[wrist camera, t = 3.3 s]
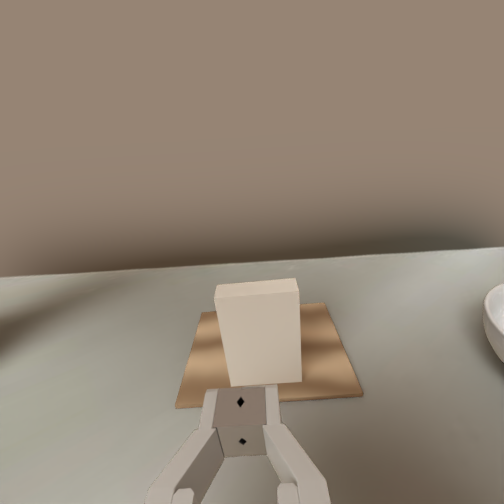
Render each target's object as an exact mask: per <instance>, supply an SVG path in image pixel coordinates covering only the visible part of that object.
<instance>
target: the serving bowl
mask: <svg viewBox="0 0 504 504" xmlns="http://www.w3.org/2000/svg"><path fill="white" fill-rule="evenodd" d="M483 324H484V329H485V332H486V335H487V338H488V340H489V342H490V344H491V346H492V348H493V349H494V351H495V353H496V354H497V355H498V357H499V358H500V360H501V361H502V362H503V363H504V283H503V284H500V285H498V286H496V287H494V288H492V289H491V290H490V291H489V292H488V293H487V294H486V296H485V299H484V304H483Z"/></svg>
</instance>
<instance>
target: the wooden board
mask: <svg viewBox="0 0 504 504" xmlns="http://www.w3.org/2000/svg"><path fill="white" fill-rule="evenodd" d="M300 334H301V365H302V382H292V383H277V386H278V395H279V402H285V401H301V400H316V399H331V398H347V397H362V396H363V392H362V389H361V387H360V385H359V382H358V380H357V378H356V375H355V373H354V371H353V368H352V366H351V364H350V361H349V359H348V357H347V354H346V352H345V350H344V347H343V345H342V343H341V340H340V338H339V336H338V333H337V331H336V329H335V326H334V324H333V322H332V320H331V317H330V315H329V313H328V310H327V308H326V306H325V303H312V304H300ZM262 385H273V384H262ZM248 386H257V385H248ZM240 387H246V386H233V387H231V383H230V378H229V373H228V368H227V363H226V358H225V353H224V348H223V343H222V337H221V332H220V327H219V322H218V317H217V312H216V311H215V312H202V314H201V318H200V321H199V324H198V328H197V331H196V335H195V338H194V342H193V345H192V348H191V352H190V355H189V359H188V362H187V366H186V369H185V372H184V376H183V379H182V383H181V386H180V390H179V393H178V396H177V400H176V403H175V407H176V409H177V408H193V407H203V402H204V397H205V393H206V391H207V389H218V388H240Z"/></svg>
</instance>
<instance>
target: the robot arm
mask: <svg viewBox="0 0 504 504" xmlns="http://www.w3.org/2000/svg"><path fill="white" fill-rule="evenodd" d="M256 455H267V457H268V459H269V461H270V462H271V464H272V466H273V468H274V470H275V472H276V474H277V475H278V477H279V479H280V481H281V483H282V484H280V485H279V486H278V488H277V499H278V504H331V502H330V497H329V492H328V487H327V483H326V479H325V478H324V477H323V475H322V474H321V473H320V471H319V470H318V468H317V467H316V466H315V464H314V463H313V462H312V460H311V459H310V458H309V456H308V455H307V453H306V452H305V451H304V449H303V448H302V447H301V445H300V444H299V442H298V441H297V440H296V438H295V437H294V436H293V434H292V433H291V432H290V430H289V429H288V427H287V426H286V425H285V424H281V414H280V404H279V395H278V386H277V384H273V385H257V386H246V387H240V388H218V389H207V391H206V393H205V397H204V402H203V408H202V413H201V418H200V423H199V428H198V429H196V430H194V431H193V432H192V434H191V435H190V436H189V438H188V439H187V440H186V441H185V443H184V444H183V445H182V446H181V448H180V449H179V450H178V452H177V453H176V454H175V455H174V457H173V458H172V459H171V461H170V462H169V463H168V464H167V466H166V467H165V468H164V469H163V471H162V472H161V473H160V475H159V476H158V477H157V478H156V480H155V481H154V482H153V484H152V485H151V486H150V487H149V489H148V492H147V495H146V498H145V501H144V504H200V503H201V502H202V500H203V498H204V496H205V494H206V492H207V490H208V489H209V487H210V485H211V483H212V481H213V479H214V478H215V476H216V474H217V472H218V470H219V468H220V466H221V465H222V463H223V461H224V458H227V457H238V456H256Z"/></svg>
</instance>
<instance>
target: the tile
mask: <svg viewBox="0 0 504 504" xmlns="http://www.w3.org/2000/svg"><path fill="white" fill-rule="evenodd" d="M214 302H215V307H216V312H217V317H218V322H219V327H220V332H221V337H222V343H223V348H224V353H225V358H226V363H227V368H228V373H229V378H230V383H231V387H233V386H248V385H262V384H277V383H292V382H302V365H301V334H300V302H299V289H298V286H297V282H296V279H295V278H290V279H279V280H267V281H256V282H244V283H232V284H221V285H217V287H216V291H215V296H214Z"/></svg>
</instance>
